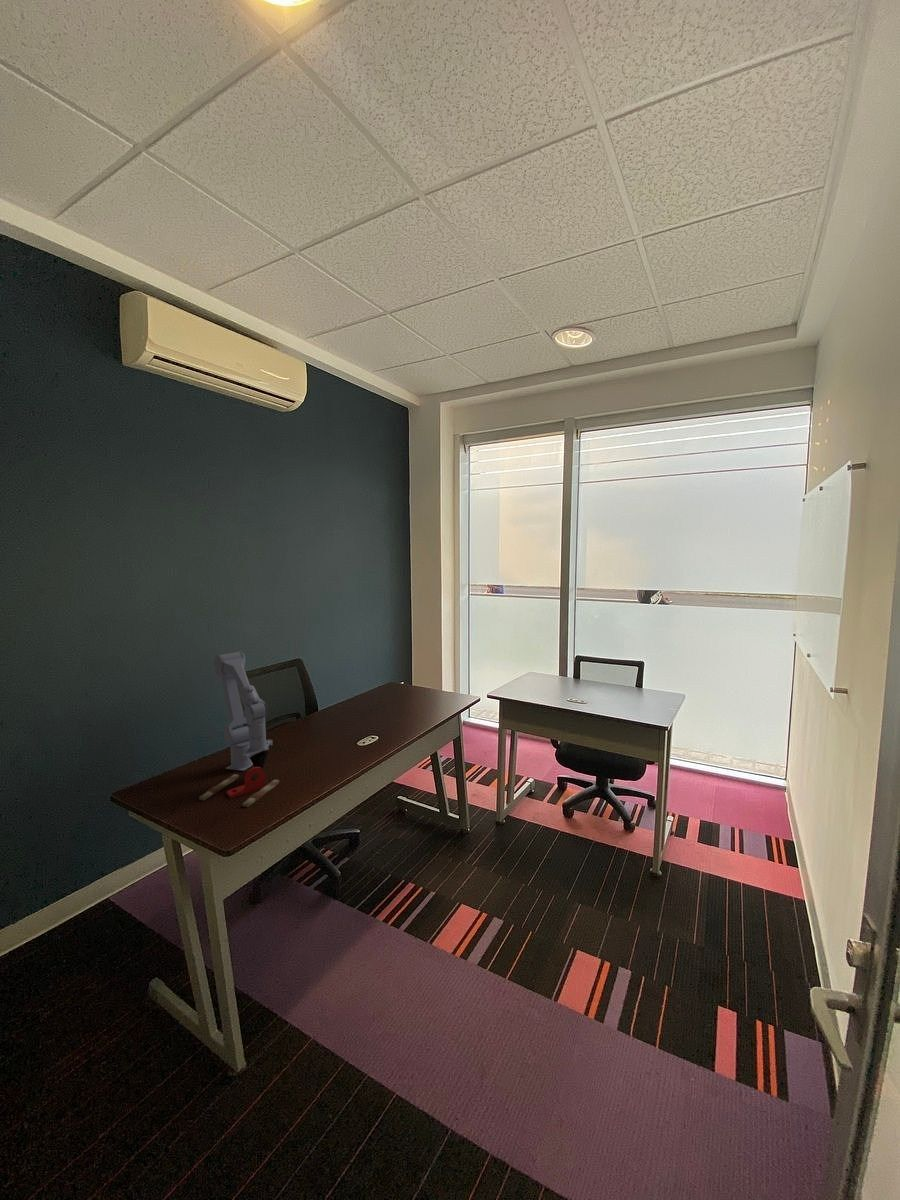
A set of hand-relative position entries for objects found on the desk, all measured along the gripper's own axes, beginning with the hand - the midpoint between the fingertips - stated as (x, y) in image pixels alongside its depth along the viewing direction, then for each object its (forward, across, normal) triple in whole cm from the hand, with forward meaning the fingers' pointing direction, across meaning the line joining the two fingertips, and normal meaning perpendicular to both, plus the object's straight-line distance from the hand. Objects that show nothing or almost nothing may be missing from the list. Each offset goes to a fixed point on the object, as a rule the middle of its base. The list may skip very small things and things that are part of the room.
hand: (259, 771), depth 178 cm
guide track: (+2, -10, 0) cm, 11 cm away
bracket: (+3, -9, -1) cm, 10 cm away
